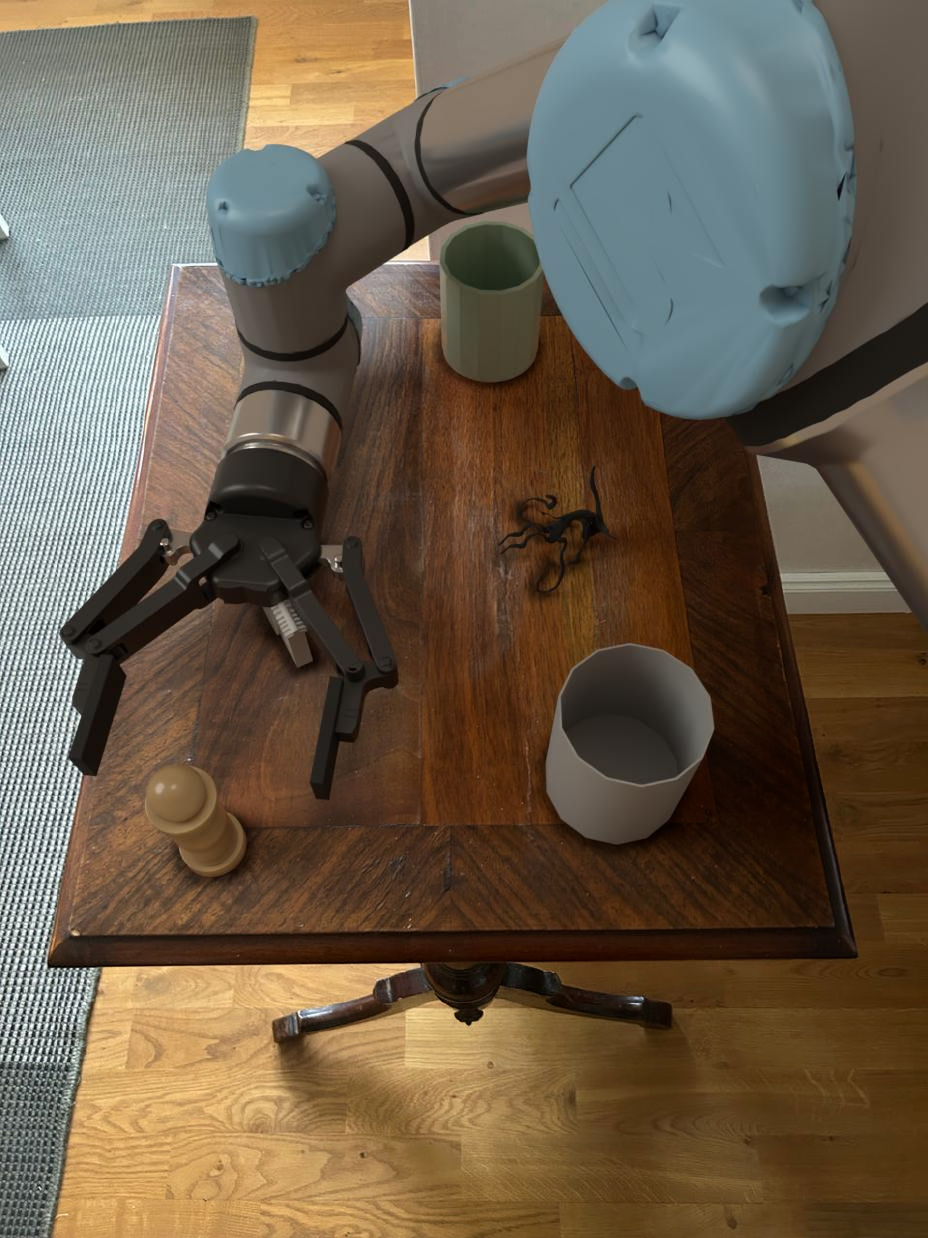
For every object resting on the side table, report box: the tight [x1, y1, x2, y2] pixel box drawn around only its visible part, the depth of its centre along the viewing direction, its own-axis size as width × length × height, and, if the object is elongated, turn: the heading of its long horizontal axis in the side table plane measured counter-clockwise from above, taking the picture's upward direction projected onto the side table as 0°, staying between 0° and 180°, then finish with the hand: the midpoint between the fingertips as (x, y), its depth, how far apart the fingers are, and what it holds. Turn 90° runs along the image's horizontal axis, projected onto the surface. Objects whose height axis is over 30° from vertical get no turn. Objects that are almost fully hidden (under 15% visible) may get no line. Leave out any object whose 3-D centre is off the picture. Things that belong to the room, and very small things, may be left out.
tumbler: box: [438, 220, 545, 383], centre depth 77 cm, size 8×8×9 cm
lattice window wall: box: [262, 597, 313, 669], centre depth 67 cm, size 12×2×6 cm, turn 28°
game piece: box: [144, 763, 248, 878], centre depth 56 cm, size 4×4×11 cm
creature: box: [497, 465, 619, 594], centre depth 69 cm, size 8×5×8 cm
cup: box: [545, 642, 715, 845], centre depth 59 cm, size 8×8×10 cm
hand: (199, 780), depth 57 cm, fingers open, 13 cm apart
